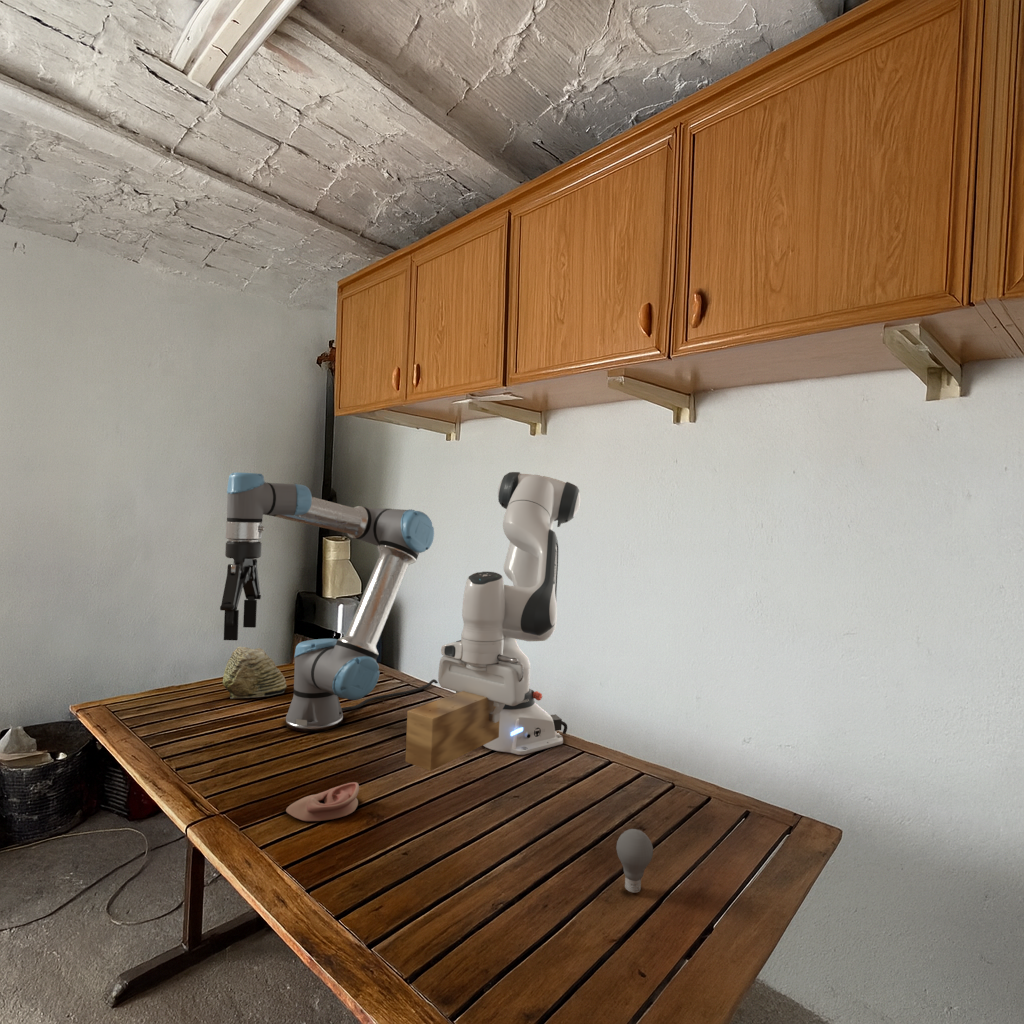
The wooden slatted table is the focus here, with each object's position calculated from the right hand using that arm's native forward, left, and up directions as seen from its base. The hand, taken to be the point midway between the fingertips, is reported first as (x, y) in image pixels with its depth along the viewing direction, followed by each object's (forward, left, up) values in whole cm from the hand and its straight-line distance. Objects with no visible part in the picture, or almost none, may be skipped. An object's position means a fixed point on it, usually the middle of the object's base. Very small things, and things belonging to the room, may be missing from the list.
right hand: (478, 717), depth 132 cm
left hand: (+44, -37, +12) cm, 59 cm away
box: (+7, +4, -4) cm, 9 cm away
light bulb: (-13, +36, -19) cm, 43 cm away
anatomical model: (+29, -11, -19) cm, 36 cm away
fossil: (+35, -92, -19) cm, 100 cm away
